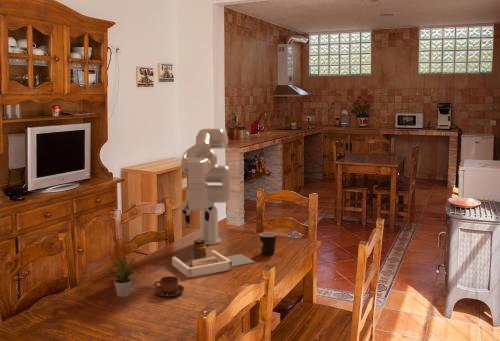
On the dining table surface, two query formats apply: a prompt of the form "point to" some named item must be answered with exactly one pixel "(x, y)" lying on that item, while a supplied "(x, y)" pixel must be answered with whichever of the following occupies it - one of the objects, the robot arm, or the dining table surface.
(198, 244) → the condiment
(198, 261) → the offcuts
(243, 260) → the mat
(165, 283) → the cup and saucer
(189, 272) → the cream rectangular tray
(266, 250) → the coffee mug
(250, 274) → the dining table surface
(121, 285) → the house plant
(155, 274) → the dining table surface
